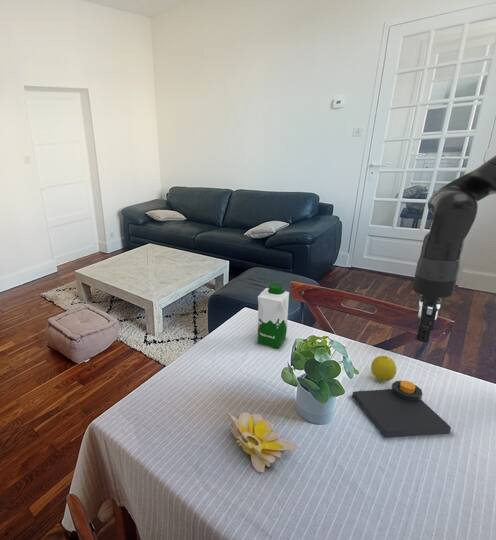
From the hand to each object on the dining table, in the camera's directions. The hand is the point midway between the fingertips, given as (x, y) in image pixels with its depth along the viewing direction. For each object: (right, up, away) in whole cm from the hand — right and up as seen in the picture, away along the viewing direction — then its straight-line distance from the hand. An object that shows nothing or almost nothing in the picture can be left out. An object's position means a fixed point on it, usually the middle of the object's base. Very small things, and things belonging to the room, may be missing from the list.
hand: (422, 333), depth 86 cm
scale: (-9, -19, -3) cm, 22 cm away
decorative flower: (-45, -26, -9) cm, 53 cm away
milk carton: (-26, -9, +31) cm, 41 cm away
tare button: (-4, -14, 0) cm, 15 cm away
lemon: (-5, -15, +8) cm, 17 cm away
